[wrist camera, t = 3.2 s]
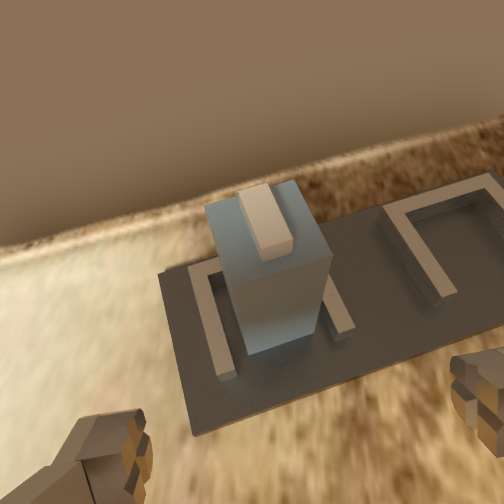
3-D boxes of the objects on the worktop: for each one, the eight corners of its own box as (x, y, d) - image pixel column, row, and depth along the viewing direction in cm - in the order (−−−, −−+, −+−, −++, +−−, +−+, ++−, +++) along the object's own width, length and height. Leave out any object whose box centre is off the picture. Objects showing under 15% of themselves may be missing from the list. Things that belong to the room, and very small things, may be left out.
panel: (488, 177, 28) (505, 153, 26) (591, 292, 23) (623, 274, 21) (161, 279, 25) (150, 262, 23) (195, 437, 20) (186, 432, 18)
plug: (288, 275, 24) (294, 162, 15) (313, 332, 22) (336, 240, 13) (228, 294, 23) (199, 190, 15) (248, 355, 21) (227, 275, 13)
